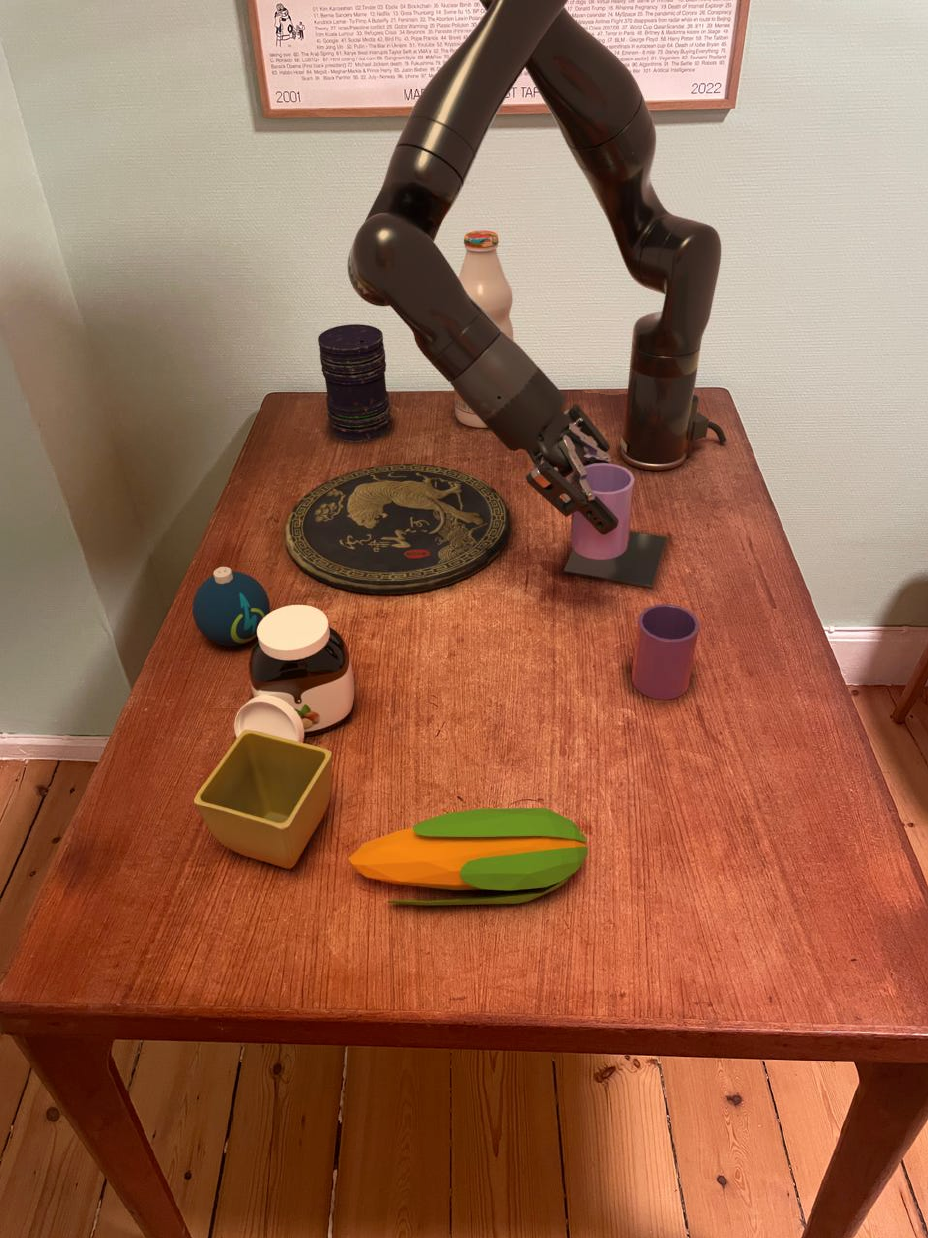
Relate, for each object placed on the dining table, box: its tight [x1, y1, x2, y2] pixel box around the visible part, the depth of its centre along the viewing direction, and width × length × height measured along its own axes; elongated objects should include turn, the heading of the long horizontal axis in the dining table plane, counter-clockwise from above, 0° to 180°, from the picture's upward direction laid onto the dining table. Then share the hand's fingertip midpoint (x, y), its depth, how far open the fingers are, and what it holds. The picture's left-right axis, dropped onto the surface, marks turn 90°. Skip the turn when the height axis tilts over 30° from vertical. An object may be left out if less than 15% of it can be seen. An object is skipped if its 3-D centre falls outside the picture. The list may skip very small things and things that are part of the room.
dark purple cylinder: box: [317, 323, 392, 443], centre depth 138 cm, size 10×10×15 cm
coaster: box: [563, 531, 668, 590], centre depth 113 cm, size 11×11×1 cm
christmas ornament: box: [192, 566, 271, 647], centre depth 100 cm, size 8×8×10 cm
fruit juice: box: [453, 229, 515, 429], centre depth 136 cm, size 9×9×28 cm
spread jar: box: [233, 604, 355, 743], centre depth 88 cm, size 12×11×12 cm
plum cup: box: [631, 603, 700, 701], centre depth 93 cm, size 6×6×8 cm
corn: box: [347, 807, 589, 906], centre depth 74 cm, size 7×8×20 cm
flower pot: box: [193, 730, 333, 870], centre depth 78 cm, size 9×9×9 cm
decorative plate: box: [284, 463, 511, 595], centre depth 119 cm, size 30×2×30 cm
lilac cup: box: [570, 463, 636, 560], centre depth 92 cm, size 6×6×8 cm
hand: (618, 511), depth 92 cm, fingers closed on lilac cup, 6 cm apart
